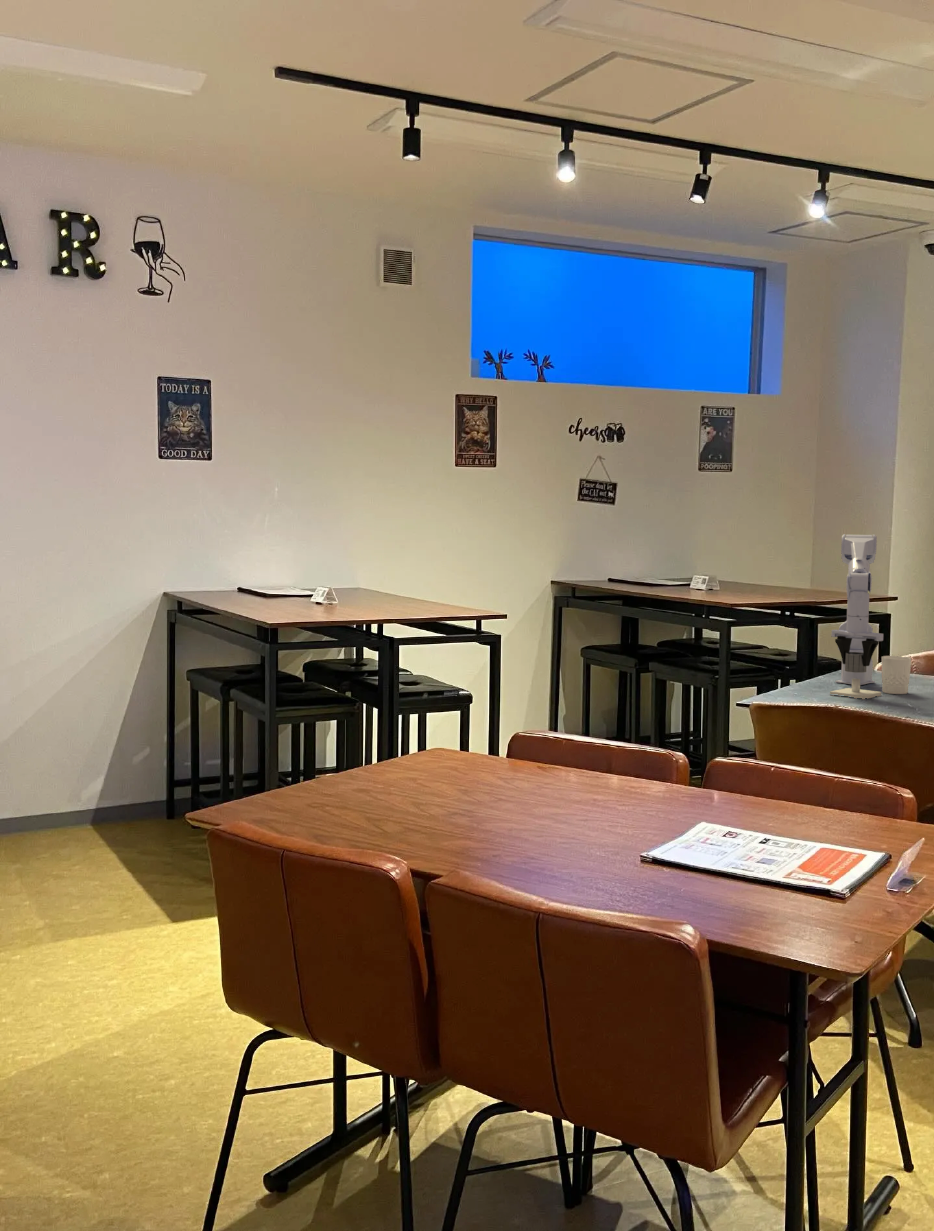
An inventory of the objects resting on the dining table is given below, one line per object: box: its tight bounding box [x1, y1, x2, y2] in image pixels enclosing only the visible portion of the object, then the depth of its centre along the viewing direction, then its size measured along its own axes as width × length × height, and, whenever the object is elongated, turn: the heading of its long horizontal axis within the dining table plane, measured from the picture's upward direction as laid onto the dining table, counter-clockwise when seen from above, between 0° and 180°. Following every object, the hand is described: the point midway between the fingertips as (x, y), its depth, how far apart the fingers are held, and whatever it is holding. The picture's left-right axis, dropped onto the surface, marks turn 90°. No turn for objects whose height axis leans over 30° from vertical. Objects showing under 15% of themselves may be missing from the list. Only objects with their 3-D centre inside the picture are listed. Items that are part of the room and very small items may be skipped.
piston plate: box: [829, 679, 882, 700], centre depth 332 cm, size 10×10×4 cm
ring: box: [845, 652, 866, 673], centre depth 332 cm, size 6×6×5 cm
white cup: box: [881, 655, 912, 695], centre depth 337 cm, size 8×8×10 cm
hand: (855, 664), depth 332 cm, fingers closed on ring, 6 cm apart
